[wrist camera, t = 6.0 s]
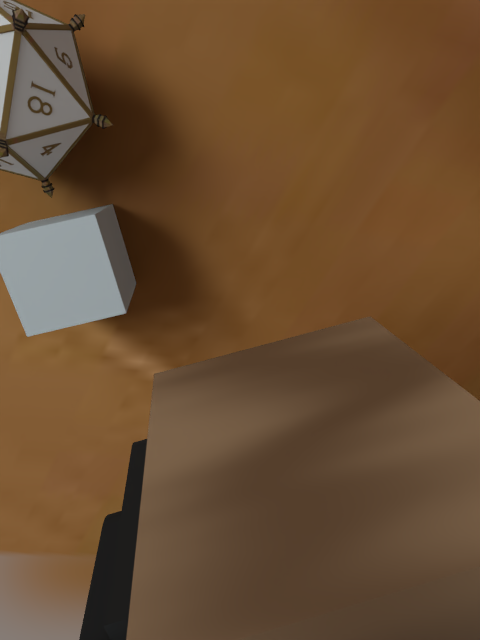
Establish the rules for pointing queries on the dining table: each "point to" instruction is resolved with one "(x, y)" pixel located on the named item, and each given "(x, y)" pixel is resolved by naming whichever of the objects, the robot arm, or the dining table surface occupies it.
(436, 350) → the dining table surface
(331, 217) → the dining table surface
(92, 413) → the dining table surface
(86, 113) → the game die
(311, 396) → the walnut block
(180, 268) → the dining table surface
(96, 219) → the grey block
